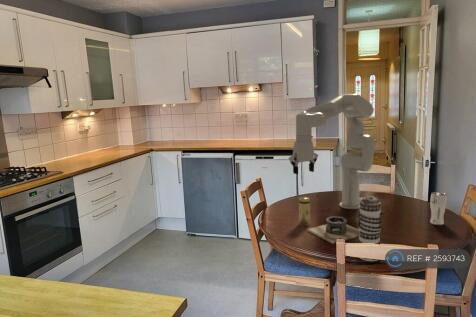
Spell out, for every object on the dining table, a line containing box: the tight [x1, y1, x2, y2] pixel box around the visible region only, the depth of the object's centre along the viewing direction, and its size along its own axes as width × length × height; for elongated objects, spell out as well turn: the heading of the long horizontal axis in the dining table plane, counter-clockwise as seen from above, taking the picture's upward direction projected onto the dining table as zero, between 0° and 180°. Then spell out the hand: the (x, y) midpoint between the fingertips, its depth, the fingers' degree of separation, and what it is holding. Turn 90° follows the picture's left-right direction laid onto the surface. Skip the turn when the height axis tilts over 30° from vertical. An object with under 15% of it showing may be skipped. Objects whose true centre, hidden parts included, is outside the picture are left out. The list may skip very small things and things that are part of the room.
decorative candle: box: [357, 195, 383, 262], centre depth 146 cm, size 9×9×25 cm
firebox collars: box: [325, 215, 348, 235], centre depth 173 cm, size 9×9×6 cm
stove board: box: [307, 220, 360, 245], centre depth 173 cm, size 20×18×1 cm
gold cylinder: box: [298, 196, 311, 227], centre depth 184 cm, size 6×6×14 cm
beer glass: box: [429, 191, 447, 226], centre depth 179 cm, size 7×7×15 cm
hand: (303, 172), depth 180 cm, fingers open, 9 cm apart
